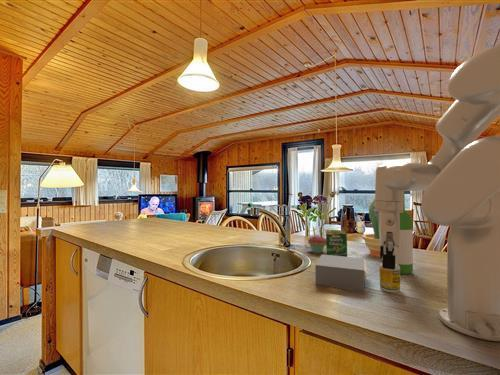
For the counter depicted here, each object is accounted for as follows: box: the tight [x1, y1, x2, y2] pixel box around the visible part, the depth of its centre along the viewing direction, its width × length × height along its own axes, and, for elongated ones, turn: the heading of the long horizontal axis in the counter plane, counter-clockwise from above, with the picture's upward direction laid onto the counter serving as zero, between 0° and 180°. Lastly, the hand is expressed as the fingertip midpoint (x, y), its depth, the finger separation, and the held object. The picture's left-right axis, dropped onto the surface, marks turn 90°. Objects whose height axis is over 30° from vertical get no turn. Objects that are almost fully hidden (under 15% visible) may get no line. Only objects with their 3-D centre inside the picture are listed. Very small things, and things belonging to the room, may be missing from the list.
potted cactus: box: [361, 198, 381, 258], centre depth 119 cm, size 15×15×25 cm
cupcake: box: [307, 226, 326, 254], centre depth 125 cm, size 9×8×12 cm
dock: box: [314, 254, 367, 292], centre depth 86 cm, size 14×14×6 cm
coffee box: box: [325, 229, 348, 257], centre depth 106 cm, size 8×3×13 cm, turn 63°
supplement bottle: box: [379, 256, 401, 294], centre depth 78 cm, size 5×5×10 cm
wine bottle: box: [395, 196, 414, 275], centre depth 95 cm, size 8×8×30 cm
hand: (387, 263), depth 79 cm, fingers open, 9 cm apart
